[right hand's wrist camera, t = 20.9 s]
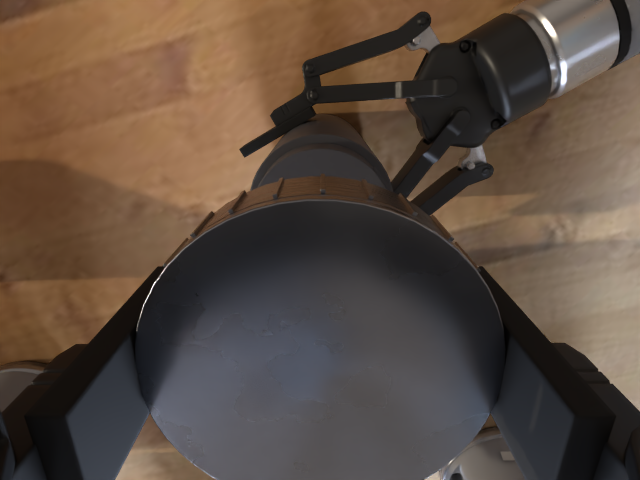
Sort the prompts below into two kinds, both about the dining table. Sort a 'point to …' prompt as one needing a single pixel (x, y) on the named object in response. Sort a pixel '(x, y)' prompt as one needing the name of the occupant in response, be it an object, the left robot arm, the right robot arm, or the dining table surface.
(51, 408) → the right robot arm
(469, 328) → the lid
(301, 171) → the jar
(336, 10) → the dining table surface
